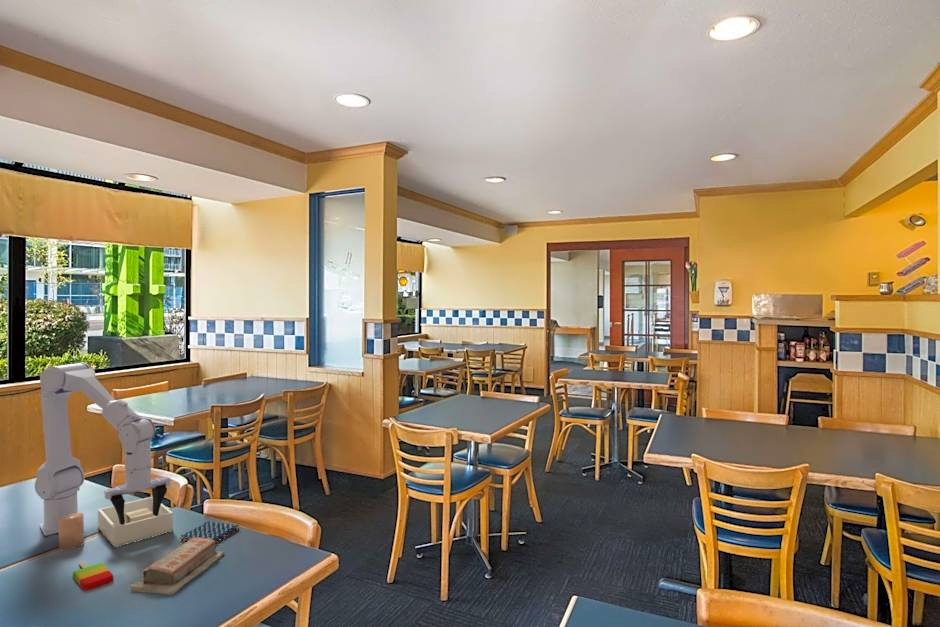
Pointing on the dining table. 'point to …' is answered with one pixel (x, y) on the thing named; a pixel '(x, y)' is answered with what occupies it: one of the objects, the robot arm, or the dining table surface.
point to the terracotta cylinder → (71, 530)
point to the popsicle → (92, 576)
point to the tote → (137, 529)
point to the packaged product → (178, 567)
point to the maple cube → (138, 515)
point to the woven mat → (210, 531)
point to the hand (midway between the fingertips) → (139, 519)
